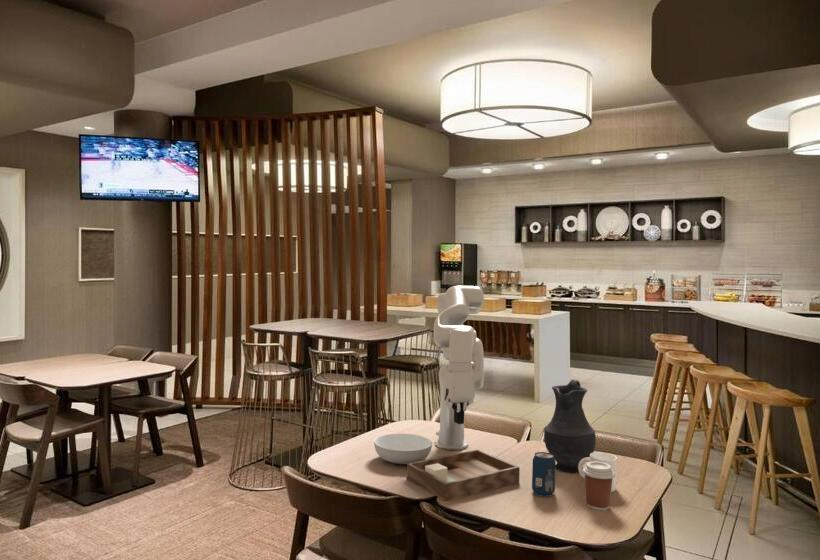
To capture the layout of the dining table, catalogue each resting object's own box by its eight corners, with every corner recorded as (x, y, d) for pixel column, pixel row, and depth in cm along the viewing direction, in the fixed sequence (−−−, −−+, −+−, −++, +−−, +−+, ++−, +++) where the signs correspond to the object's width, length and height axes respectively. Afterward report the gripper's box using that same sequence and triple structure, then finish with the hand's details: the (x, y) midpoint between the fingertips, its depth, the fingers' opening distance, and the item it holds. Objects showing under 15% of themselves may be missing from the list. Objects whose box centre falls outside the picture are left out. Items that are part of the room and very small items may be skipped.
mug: (574, 486, 184) (574, 454, 184) (581, 479, 191) (582, 448, 191) (612, 495, 178) (613, 462, 178) (619, 487, 185) (619, 455, 184)
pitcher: (537, 471, 197) (539, 384, 197) (552, 455, 216) (554, 375, 215) (589, 481, 189) (592, 390, 189) (600, 463, 208) (602, 380, 207)
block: (424, 478, 182) (425, 465, 182) (437, 475, 185) (437, 463, 184) (434, 483, 178) (434, 470, 178) (447, 480, 180) (447, 467, 180)
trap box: (477, 463, 204) (477, 449, 204) (519, 482, 187) (519, 467, 187) (406, 478, 188) (407, 463, 188) (445, 501, 170) (445, 484, 170)
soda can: (538, 487, 183) (539, 449, 183) (558, 493, 179) (559, 454, 178) (527, 493, 178) (528, 455, 177) (548, 499, 173) (549, 460, 173)
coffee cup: (607, 499, 174) (608, 460, 174) (619, 512, 165) (620, 470, 165) (577, 499, 174) (578, 459, 174) (587, 512, 165) (588, 470, 165)
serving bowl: (408, 474, 192) (408, 454, 192) (361, 461, 205) (362, 442, 205) (443, 459, 209) (443, 440, 208) (397, 447, 221) (398, 429, 221)
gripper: (470, 363, 193) (469, 417, 194) (434, 366, 185) (433, 423, 185) (485, 366, 187) (484, 422, 187) (448, 370, 179) (447, 429, 179)
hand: (458, 422), depth 186 cm, fingers closed
